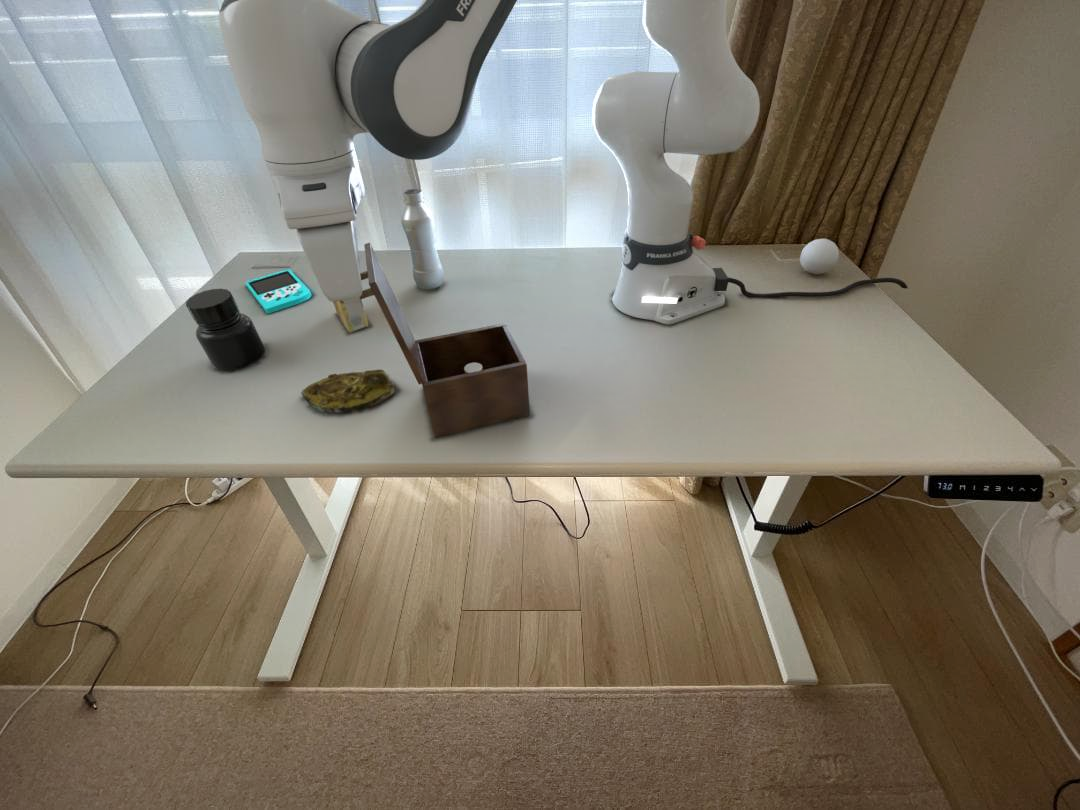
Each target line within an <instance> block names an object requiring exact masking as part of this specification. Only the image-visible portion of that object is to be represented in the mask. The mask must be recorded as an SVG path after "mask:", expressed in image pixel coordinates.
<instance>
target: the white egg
mask: <svg viewBox="0 0 1080 810" xmlns="http://www.w3.org/2000/svg"><path fill="white" fill-rule="evenodd" d="M802 245H803V246H804V247H803V249H802V250H801V252H800V256H799V262H800V267H802V268H803V270H804V271H805V272H807V273H809V274H811V275H822V274H825V273H827V272H829V271H831V270H832V269H833V268H834V267H835V266H836V265H837V263H838V261H839V258H840V252H839V247H838V246H837V244H836V243H835V242H834V241H832V240H830V239H828V238H817V239H814V240H811V241H810V242H808V243H807V244H806V245H805V243H804V244H803V243H802Z"/></svg>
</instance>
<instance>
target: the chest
mask: <svg viewBox="0 0 1080 810" xmlns="http://www.w3.org/2000/svg"><path fill="white" fill-rule="evenodd" d="M415 343H416V348H417V352H418V356H419V361H420V365H421V369H422V374H423V378H424V383H422V384H421V387H422V390H423V394H424V395H423V396H424V399H425V403H426V408H427V412H428V416H429V420H430V423H431V427H432V432H433V437H434V438H440V437H445V436H448V435H453V434H457V433H462V432H466V431H470V430H474V429H478V428H483V427H487V426H492V425H495V424H498V423H504V422H507V421H511V420H516V419H521V418H524V417H530V413H531V412H530V396H529V381H528V364H527V362H526V359H525V358H524V356H523V354H522V353H521V350H520V348H519V346H518V344H517V342H516V341H515V339H514V336H513V334H512V332H511V330H510V329H509V327H508V324H507V323H506V322H503V323H499V324H494V325H487V326H483V327H478V328H473V329H467V330H462V331H456V332H452V333H447V334H442V335H441V334H440V335H436V336H432V337H431V336H430V337H426V338H420V339H415ZM469 363H479V364H481V365H482V367H483V370H481V371H476V372H471V373H467V374H465V371H464V367H465V366H466V365H467V364H469Z"/></svg>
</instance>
